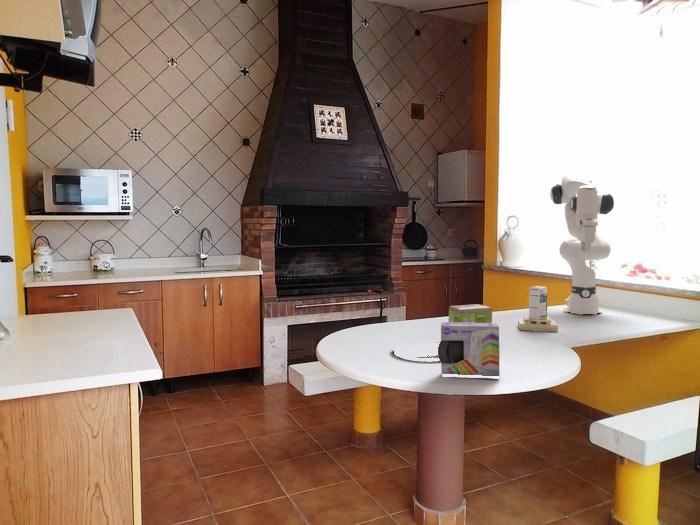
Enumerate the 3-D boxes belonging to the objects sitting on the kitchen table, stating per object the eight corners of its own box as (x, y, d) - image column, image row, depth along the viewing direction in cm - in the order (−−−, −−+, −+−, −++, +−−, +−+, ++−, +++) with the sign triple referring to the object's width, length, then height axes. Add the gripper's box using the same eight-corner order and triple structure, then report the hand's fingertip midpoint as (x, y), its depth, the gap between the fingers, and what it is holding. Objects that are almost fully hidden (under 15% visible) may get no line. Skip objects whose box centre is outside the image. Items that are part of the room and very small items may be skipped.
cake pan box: (437, 377, 170) (438, 323, 169) (438, 373, 175) (438, 320, 174) (499, 381, 166) (500, 325, 165) (498, 376, 171) (499, 322, 170)
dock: (517, 325, 251) (518, 318, 251) (553, 326, 248) (553, 320, 247) (520, 330, 239) (520, 323, 239) (557, 332, 236) (557, 325, 236)
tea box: (461, 346, 212) (462, 309, 210) (447, 340, 221) (447, 305, 220) (492, 342, 218) (492, 306, 217) (476, 337, 227) (477, 303, 226)
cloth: (523, 319, 249) (524, 315, 249) (548, 320, 246) (548, 316, 246) (525, 323, 240) (525, 319, 240) (551, 324, 238) (551, 320, 238)
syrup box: (538, 319, 239) (539, 287, 238) (528, 317, 244) (529, 286, 243) (547, 318, 242) (548, 286, 241) (536, 316, 247) (537, 285, 246)
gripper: (575, 220, 253) (574, 249, 255) (583, 222, 233) (581, 253, 235) (589, 220, 252) (588, 249, 253) (598, 222, 232) (597, 253, 234)
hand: (585, 251), depth 244 cm, fingers open, 8 cm apart
